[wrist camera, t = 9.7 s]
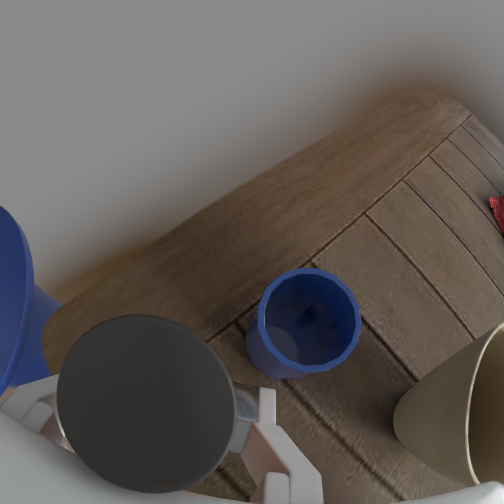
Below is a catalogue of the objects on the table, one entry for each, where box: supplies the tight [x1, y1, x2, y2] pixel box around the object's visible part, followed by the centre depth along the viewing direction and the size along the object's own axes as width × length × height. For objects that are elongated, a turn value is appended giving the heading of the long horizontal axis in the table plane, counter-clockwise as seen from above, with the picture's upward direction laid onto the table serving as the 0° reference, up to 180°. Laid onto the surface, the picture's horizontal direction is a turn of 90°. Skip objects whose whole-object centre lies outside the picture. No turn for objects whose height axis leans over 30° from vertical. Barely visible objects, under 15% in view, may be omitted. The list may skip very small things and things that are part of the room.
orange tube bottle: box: [56, 314, 238, 494], centre depth 10 cm, size 3×3×12 cm
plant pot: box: [393, 322, 504, 487], centre depth 21 cm, size 15×15×16 cm
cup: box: [246, 268, 361, 380], centre depth 27 cm, size 8×8×10 cm
